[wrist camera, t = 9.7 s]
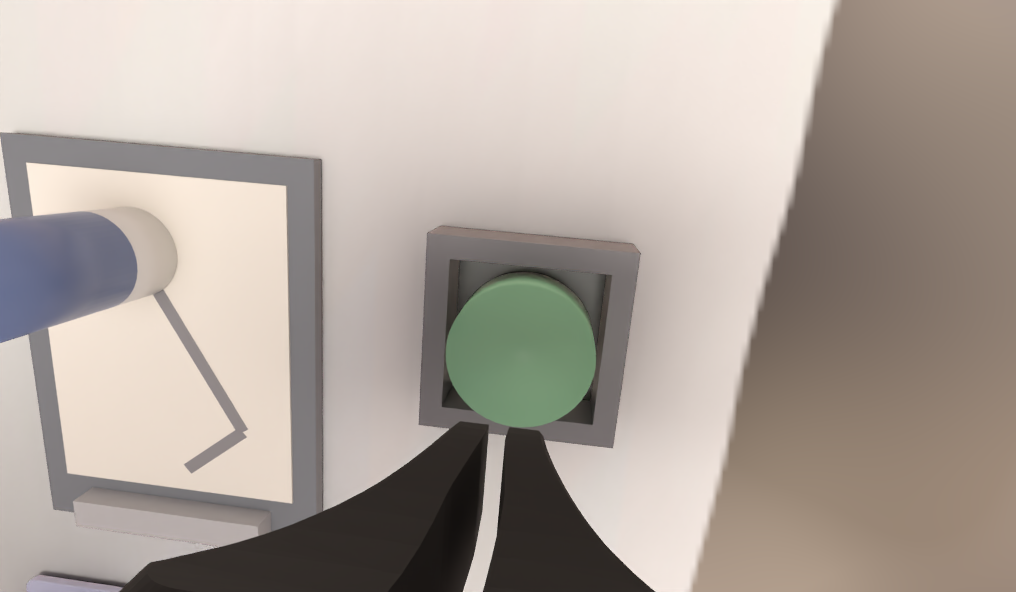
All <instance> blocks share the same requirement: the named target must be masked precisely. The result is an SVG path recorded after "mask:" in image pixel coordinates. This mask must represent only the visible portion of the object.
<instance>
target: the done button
mask: <svg viewBox="0 0 1016 592" xmlns="http://www.w3.org/2000/svg"><path fill="white" fill-rule="evenodd" d="M446 364H447V370H448V373H449V377H450V379H451V381H452V384H453V386H454V388H455V389H456V391H457V393H458V394H459V395H460V397H461V398H462V399H463V401H464V402H465V403H466V404H467V405H468V406H469V407H470V408H472V409H473V410H474V411H475V412H477V413H478V414H480V415H481V416H483V417H485V418H486V419H489V420H491V421H493V422H496V423H499V424H502V425H506V426H512V427H535V426H540V425H544V424H547V423H550V422H553V421H555V420H557V419H559V418H561V417H563V416H564V415H566V414H567V413H569V412H570V411H571V410H572V409H574V408H575V407H576V406H577V405H578V404H579V402H580V401H581V400H582V399H583V397H584V396H585V394H586V393H587V391H588V389H589V387H590V385H591V383H592V380H593V377H594V373H595V368H596V349H595V342H594V336H593V330H592V325H591V321H590V318H589V315H588V313H587V311H586V309H585V307H584V305H583V304H582V302H581V301H580V299H579V298H578V297H577V296H576V295H575V294H574V293H573V292H572V291H571V290H570V289H569V288H568V287H566V286H565V285H564V284H562V283H561V282H559V281H557V280H555V279H553V278H551V277H549V276H545V275H542V274H538V273H532V272H515V273H509V274H505V275H501V276H499V277H496V278H494V279H492V280H490V281H488V282H487V283H485V284H484V285H482V286H481V287H480V288H479V289H478V290H476V291H475V292H474V293H473V295H472V296H471V297H470V298H469V300H468V301H467V302H466V304H465V305H464V307H463V308H462V310H461V311H460V313H459V314H458V316H457V318H456V319H455V321H454V323H453V324H452V327H451V329H450V332H449V335H448V339H447V344H446Z"/></svg>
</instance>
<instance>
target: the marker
mask: <svg viewBox="0 0 1016 592" xmlns="http://www.w3.org/2000/svg"><path fill="white" fill-rule="evenodd" d="M176 268H177V251H176V247H175V243H174V241H173V238H172V236H171V234H170V233H169V231H168V230H167V228H166V227H165V226H164V225H163V223H162V222H161V221H160V220H159V219H157V218H156V217H155V216H153V215H152V214H150V213H149V212H147V211H144V210H142V209H139V208H135V207H118V208H108V209H98V210H88V211H78V212H68V213H57V214H47V215H37V216H27V217H17V218H7V219H0V343H2V342H5V341H8V340H11V339H14V338H18V337H21V336H24V335H27V334H30V333H33V332H36V331H40V330H43V329H46V328H49V327H52V326H55V325H58V324H62V323H65V322H68V321H71V320H74V319H77V318H81V317H84V316H87V315H90V314H93V313H96V312H99V311H103V310H106V309H109V308H112V307H115V306H118V305H121V304H125V303H128V302H131V301H134V300H137V299H140V298H143V297H147V296H150V295H153V294H156V293H158V292H160V291H162V290H163V289H164V288H165V287H167V286H168V284H169V283H170V282H171V280H172V279H173V277H174V274H175V272H176Z"/></svg>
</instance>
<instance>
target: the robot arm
mask: <svg viewBox="0 0 1016 592" xmlns="http://www.w3.org/2000/svg"><path fill="white" fill-rule="evenodd" d="M488 431H489V425H488V424H480V423H472V422H463V421H460V422H458V423H457V424H456V425H454V426H453V427H452V428H451V429H449V430H448V431H447V432H446V433H445V434H443V435H442V436H441V437H440V438H439V439H438V440H436V441H435V442H434V443H433V444H431V445H430V446H429V447H428V448H427V449H425V450H424V451H423V452H421V453H420V454H419V455H418V456H416V457H415V458H414V459H412V460H411V461H410V462H409V463H407V464H406V465H404V466H403V467H401V468H400V469H398V470H397V471H396V472H394V473H393V474H391V475H390V476H388V477H387V478H385V479H384V480H382V481H381V482H379V483H377V484H376V485H374V486H372V487H371V488H369V489H367V490H365V491H364V492H362V493H360V494H358V495H356V496H354V497H352V498H350V499H348V500H347V501H345V502H343V503H341V504H339V505H336V506H334V507H332V508H330V509H327V510H325V511H323V512H320V513H318V514H316V515H313V516H311V517H308V518H306V519H304V520H301V521H299V522H297V523H294V524H292V525H289V526H286V527H283V528H281V529H278V530H275V531H272V532H269V533H266V534H263V535H260V536H257V537H253V538H250V539H247V540H243V541H240V542H237V543H233V544H229V545H226V546H222V547H218V548H214V549H210V550H205V551H201V552H197V553H192V554H188V555H184V556H179V557H175V558H170V559H166V560H161V561H156V562H151V563H149V564H148V565H147V566H146V567H145V568H143V569H142V570H141V571H140V572H139V573H138V574H137V575H136V576H135V577H134V578H133V579H132V580H131V581H130V582H128V583H127V584H126V585H125V586H124V587H118V586H111V585H104V584H98V583H91V582H84V581H78V580H71V579H64V578H58V577H51V576H44V575H37V576H35V577H33V578H32V579H31V580H30V581H28V583H27V592H463V589H464V586H465V582H466V579H467V576H468V573H469V570H470V566H471V563H472V560H473V557H474V552H475V547H476V542H477V537H478V531H479V526H480V520H481V515H482V507H483V495H484V482H485V469H486V457H487V444H488ZM483 592H655V591H654V590H652V589H651V588H650V587H649V586H648V585H647V584H645V583H644V582H643V581H642V580H641V579H640V578H638V577H637V576H636V575H635V574H634V573H633V572H632V571H631V570H630V569H629V568H628V567H627V566H626V565H625V564H624V563H623V562H622V561H621V560H620V559H619V558H618V557H617V556H616V555H615V554H614V553H613V552H612V551H611V550H610V549H609V548H608V547H607V546H606V545H605V544H604V543H603V541H602V540H601V539H600V538H599V536H598V535H597V534H596V533H595V532H594V530H593V529H592V528H591V526H590V525H589V524H588V522H587V521H586V520H585V518H584V517H583V515H582V514H581V512H580V511H579V509H578V508H577V506H576V505H575V503H574V502H573V500H572V498H571V497H570V495H569V493H568V492H567V490H566V488H565V486H564V485H563V483H562V481H561V479H560V477H559V475H558V473H557V471H556V469H555V467H554V465H553V463H552V461H551V458H550V456H549V453H548V451H547V448H546V445H545V441H544V436H543V435H542V434H541V433H540V431H538V430H530V429H522V428H513V427H509V429H508V432H507V435H506V439H505V448H504V459H503V471H502V482H501V493H500V505H499V516H498V528H497V537H496V542H495V546H494V551H493V555H492V559H491V563H490V567H489V571H488V575H487V578H486V582H485V586H484V590H483Z"/></svg>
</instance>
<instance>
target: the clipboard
mask: <svg viewBox="0 0 1016 592" xmlns="http://www.w3.org/2000/svg"><path fill="white" fill-rule="evenodd" d="M0 138H1V145H2V152H3V159H4V166H5V173H6V180H7V187H8V194H9V201H10V208H11V215H12V218H17V217H27V216H37V215H47V214H57V213H68V212H78V211H88V210H98V209H108V208H118V207H135V208H139V209H142V210H144V211H147V212H149V213H150V214H152V215H153V216H155V217H156V218H157V219H159V220H160V221H161V222H162V223H163V225H164V226H165V227H166V228H167V230H168V231H169V233H170V234H171V236H172V238H173V241H174V243H175V247H176V251H177V268H176V272H175V274H174V277H173V279H172V280H171V282H170V283H169V284H168V286H167V287H165V288H164V289H163V290H162V291H160V292H158V293H156V294H153V295H150V296H147V297H143V298H140V299H137V300H134V301H131V302H128V303H125V304H121V305H118V306H115V307H112V308H109V309H106V310H103V311H99V312H96V313H93V314H90V315H87V316H84V317H81V318H77V319H74V320H71V321H68V322H65V323H62V324H58V325H55V326H52V327H49V328H46V329H43V330H40V331H36V332H33V333H30V334H29V341H30V348H31V355H32V362H33V368H34V375H35V382H36V389H37V396H38V403H39V410H40V417H41V424H42V431H43V438H44V445H45V452H46V459H47V466H48V473H49V480H50V487H51V494H52V501H53V508H54V510H61V511H69V512H74V513H75V520H76V526H79V527H86V528H93V529H100V530H107V531H114V532H121V533H128V534H135V535H143V536H150V537H157V538H164V539H171V540H178V541H185V542H192V543H199V544H206V545H213V546H220V547H222V546H226V545H229V544H233V543H237V542H240V541H243V540H247V539H250V538H253V537H257V536H260V535H263V534H266V533H269V532H272V531H275V530H278V529H281V528H283V527H286V526H289V525H292V524H294V523H297V522H299V521H301V520H304V519H306V518H308V517H311V516H313V515H316V514H318V513H320V512H323V510H322V246H321V159H309V158H298V157H286V156H274V155H263V154H251V153H240V152H228V151H216V150H205V149H193V148H182V147H170V146H158V145H147V144H135V143H124V142H112V141H100V140H89V139H77V138H66V137H54V136H42V135H31V134H19V133H0Z"/></svg>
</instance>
